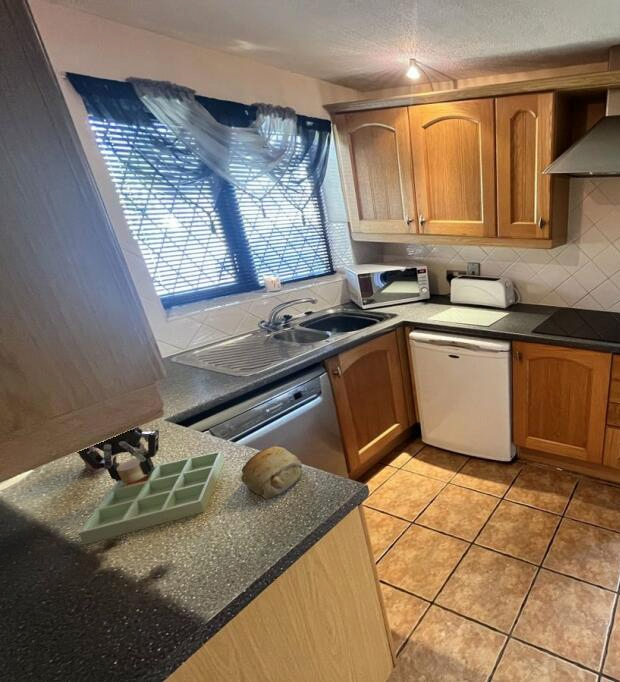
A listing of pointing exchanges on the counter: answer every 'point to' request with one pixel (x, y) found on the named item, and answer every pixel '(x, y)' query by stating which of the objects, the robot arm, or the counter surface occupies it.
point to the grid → (155, 497)
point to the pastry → (271, 471)
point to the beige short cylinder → (130, 471)
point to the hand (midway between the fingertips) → (134, 475)
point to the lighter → (91, 469)
